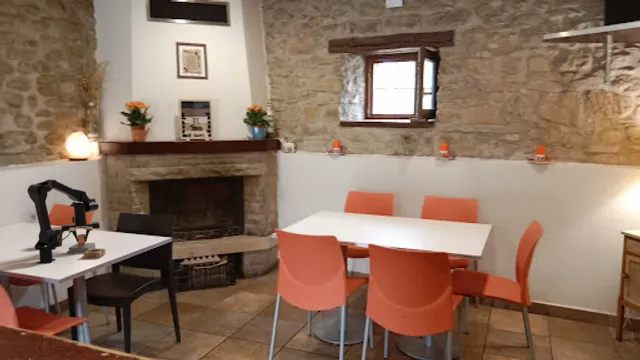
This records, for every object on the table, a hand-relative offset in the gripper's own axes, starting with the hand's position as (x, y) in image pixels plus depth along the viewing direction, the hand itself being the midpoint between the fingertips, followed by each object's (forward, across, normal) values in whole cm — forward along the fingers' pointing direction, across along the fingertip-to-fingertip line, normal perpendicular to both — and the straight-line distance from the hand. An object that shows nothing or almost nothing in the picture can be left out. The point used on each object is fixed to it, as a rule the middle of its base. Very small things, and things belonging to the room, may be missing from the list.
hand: (81, 242), depth 277 cm
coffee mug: (+5, +13, -18) cm, 22 cm away
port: (+5, 0, 0) cm, 5 cm away
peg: (+4, 0, 0) cm, 4 cm away
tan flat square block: (+5, -6, +15) cm, 17 cm away
